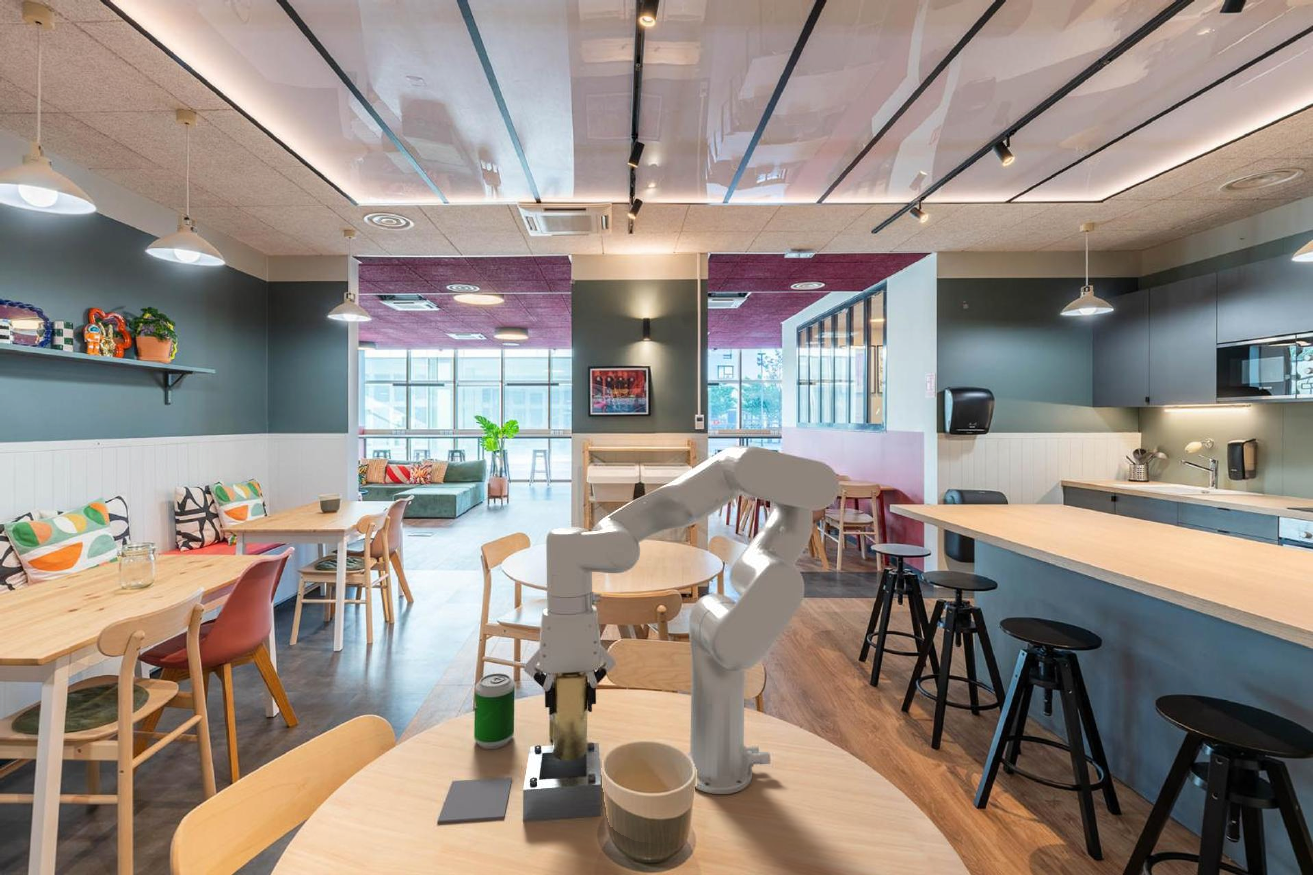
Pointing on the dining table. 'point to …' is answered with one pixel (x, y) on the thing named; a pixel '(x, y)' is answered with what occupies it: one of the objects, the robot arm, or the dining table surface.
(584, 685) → the tan cylinder
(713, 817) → the dining table surface
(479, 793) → the rubber mat
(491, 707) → the soda can
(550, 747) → the housing
